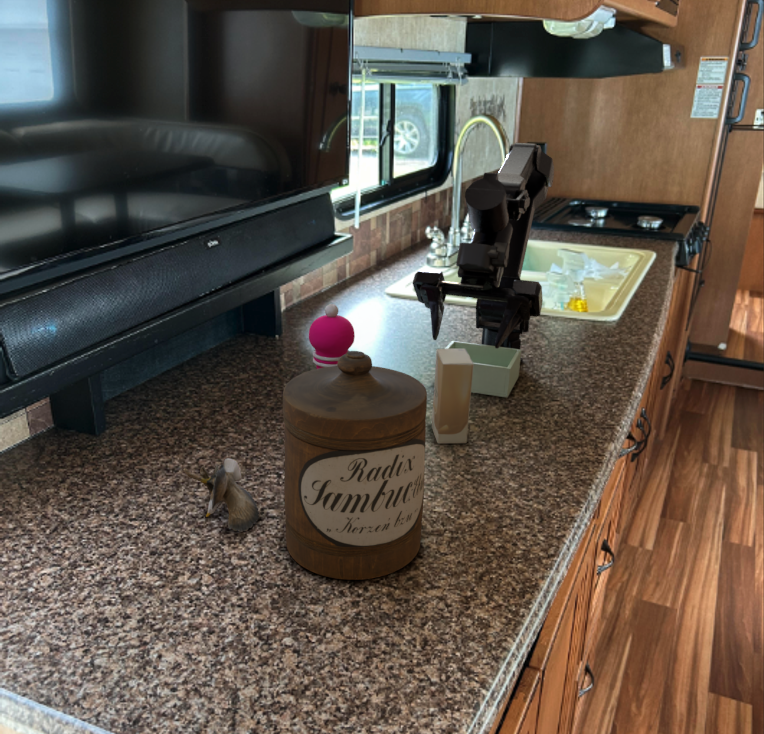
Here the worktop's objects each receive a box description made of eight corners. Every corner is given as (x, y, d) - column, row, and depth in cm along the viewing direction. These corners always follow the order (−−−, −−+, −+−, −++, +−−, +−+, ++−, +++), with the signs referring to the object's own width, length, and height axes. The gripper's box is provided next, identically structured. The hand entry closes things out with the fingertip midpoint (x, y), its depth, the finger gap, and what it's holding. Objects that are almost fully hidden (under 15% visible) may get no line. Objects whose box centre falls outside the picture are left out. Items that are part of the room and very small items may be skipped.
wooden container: (312, 595, 76) (309, 388, 67) (269, 521, 88) (262, 338, 79) (444, 563, 82) (458, 368, 73) (387, 497, 94) (392, 324, 85)
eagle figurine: (169, 501, 90) (199, 522, 82) (192, 444, 90) (225, 460, 83) (224, 518, 94) (258, 539, 87) (246, 463, 95) (282, 480, 88)
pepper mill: (365, 437, 109) (367, 300, 101) (346, 459, 103) (347, 314, 95) (318, 429, 111) (317, 294, 103) (297, 450, 105) (294, 308, 97)
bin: (434, 386, 128) (436, 358, 126) (450, 367, 137) (452, 340, 135) (507, 397, 124) (510, 368, 122) (518, 376, 133) (521, 349, 131)
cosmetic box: (430, 425, 113) (435, 347, 108) (459, 425, 114) (465, 347, 109) (437, 445, 108) (442, 362, 103) (467, 444, 108) (474, 362, 103)
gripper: (419, 214, 112) (392, 306, 106) (548, 224, 106) (526, 323, 101) (431, 257, 122) (407, 344, 116) (550, 269, 116) (530, 361, 111)
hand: (464, 342), depth 111 cm, fingers open, 9 cm apart
